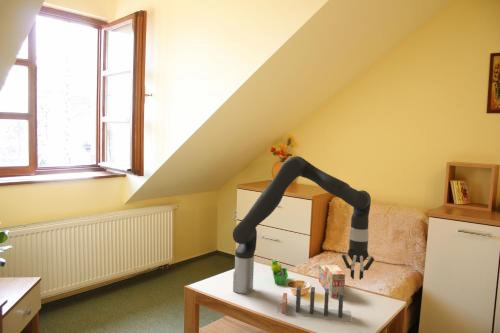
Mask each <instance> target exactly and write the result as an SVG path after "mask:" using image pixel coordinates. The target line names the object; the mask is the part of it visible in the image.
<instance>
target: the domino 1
mask: <svg viewBox="0 0 500 333" xmlns="http://www.w3.org/2000/svg"><path fill="white" fill-rule="evenodd" d="M287 302H288V292H283V295H282V301H281V303H282V313H281V314H285V315H287V314H286V306H287V304H288V303H287Z"/></svg>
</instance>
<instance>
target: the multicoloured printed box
mask: <svg viewBox="0 0 500 333" xmlns="http://www.w3.org/2000/svg"><path fill="white" fill-rule="evenodd" d="M318 265H319V267H318V268H319V269H318V283H319V284H320V285H321V286H322V288H323V289H324V290H325V288H326V289H329V298H331V299H339V290H343V299H344V298H345V284H346V282H345V281H346V273H345V272H344V271H343V270H342V269H341V268H340V266H338V265H337V264H318Z"/></svg>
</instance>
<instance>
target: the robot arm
mask: <svg viewBox="0 0 500 333" xmlns="http://www.w3.org/2000/svg"><path fill="white" fill-rule="evenodd" d="M299 177H301V178H304V179H307V180H309V181H311V182H313V183H315V184H316V185H317V186H319V187H320V188H321V189H323V191H326V192H327V193H328V194H330V195H331V196H335V197H337V198H339V199H341V201H344V202H345V203H347V204H348V205H349V206H351V207H352V208H353V210H352V211H353V212H352V214H351V218H350V229H349V235H348V236H349V240H348V241H349V243H348V250H347V252H346V253H342V254H341V258H342V260H343V262H344V264H345V266H346V269H349V270H350V278H351V279H352V280H354V279H355V266H356V263H358V264H359V265H360V266H359V267H360V268H359V278H358V279H359V280H362V279H363V278H364V271H369V269H370V268H371V266H372V264H373V262H374V261H375V257H374V256H372V255H370V254H369V252H368V247H369V223H370V222H369V218H370V217H369V216H370V209H371V203H372V202H371V201H372V200H371V195H370V193H369V192H368V191H366V190H364V189H363V190H362V189H361V190H357V189H356V188H353V187H352V186H350V184H349V183H347V182H345V181H343V180H341V179H339V178H337V177H335V176H333V175H330V174H328V173H327V172H325V171H323V170H321V169H320V168H318V167H316V166H315V165H313V164H311V163H310V161H308V160H306V159H305V158H303V157H302V156H300V155H299V156H298V155H296V156H295V155H294V156H290V157H287V158H286V159H285V160H284V162H283V163H282V164H281V167H280V168H279V169H278V171H277V173H276V175H275V176H274V178H273V179H272V181H270V182H269V183H268V185H267V186H266V188H264V190H263V191H262V192H261V194H260V195H259V196H258V198H257V199H256V201H255V203H253V205H252V206H251V207H250V210H248V212H247V214H246V215H245V216H244V217H243V219H242V220H241V221H240V222H238V224H236V225H235V227H234V228H233V230H232V240H233V241H234V242H235V243H237V244H238V246H237V248H236V249H235V252H234V271H233V275H232V277H233V281H232V292H235V293H237V294H251V293H252V292H254V291H253V290H254V272H255V271H254V268H255V267H254V265H255V263H254V262H255V251H256V250H257V240H258V239H257V238H258V234H257V232H258V231H257V227H258V225H260V224H261V223H262V222H264V220H265V219H267V218H268V217H269V216H270V215H272V213H273V212H274V211H275V209H276V208H278V206H279V204H280V203H281V202H282V199H283V197H284V195H285V192H286V191H287V189H288V188H289V186H291V184H293V182H294V181H295V180H296V179H298V178H299ZM348 258H349V259H350V260H351V264H350V263H349V261H348ZM366 260H367V263H366V264H364V262H365V261H366Z"/></svg>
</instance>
